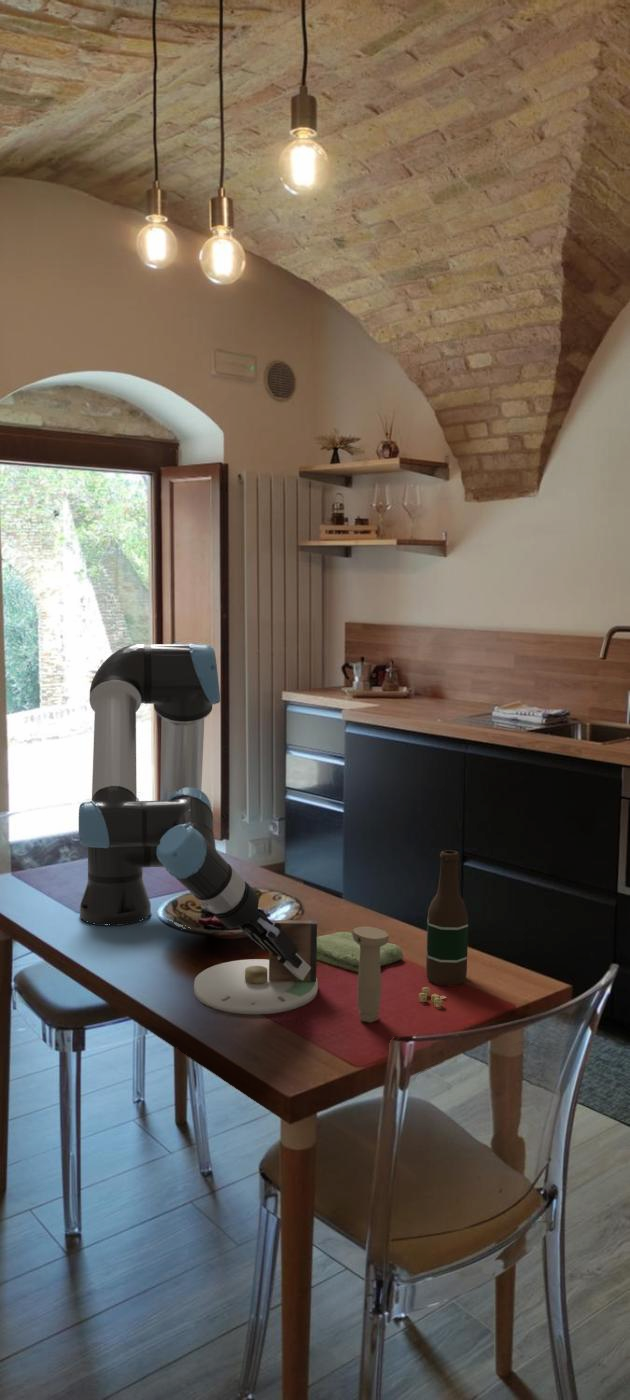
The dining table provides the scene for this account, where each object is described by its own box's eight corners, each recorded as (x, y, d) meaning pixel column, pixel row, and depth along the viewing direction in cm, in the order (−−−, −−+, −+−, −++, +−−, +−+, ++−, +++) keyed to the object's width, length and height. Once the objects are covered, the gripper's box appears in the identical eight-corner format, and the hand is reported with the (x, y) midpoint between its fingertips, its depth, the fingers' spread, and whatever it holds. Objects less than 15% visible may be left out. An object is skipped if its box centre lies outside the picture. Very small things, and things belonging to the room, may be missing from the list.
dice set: (440, 1012, 181) (440, 1001, 181) (413, 1006, 183) (413, 995, 183) (450, 1002, 185) (451, 991, 185) (423, 996, 188) (424, 986, 188)
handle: (367, 1009, 180) (369, 924, 178) (392, 1022, 175) (394, 935, 173) (345, 1016, 177) (346, 930, 176) (370, 1029, 172) (371, 940, 170)
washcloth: (338, 939, 217) (339, 924, 216) (406, 961, 205) (407, 945, 204) (294, 955, 207) (294, 939, 207) (362, 979, 195) (363, 962, 195)
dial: (218, 961, 202) (219, 953, 202) (330, 974, 196) (330, 965, 196) (175, 1005, 181) (175, 996, 180) (298, 1021, 175) (298, 1011, 175)
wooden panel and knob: (244, 983, 186) (244, 925, 185) (245, 975, 190) (245, 917, 189) (316, 984, 186) (317, 925, 185) (315, 975, 190) (316, 918, 189)
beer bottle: (417, 973, 197) (421, 848, 194) (454, 969, 200) (458, 845, 197) (436, 989, 190) (440, 858, 187) (474, 983, 193) (479, 855, 190)
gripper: (192, 905, 177) (269, 979, 190) (238, 925, 167) (316, 1002, 180) (218, 870, 180) (292, 945, 192) (265, 887, 170) (340, 965, 182)
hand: (304, 972), depth 186 cm, fingers closed
